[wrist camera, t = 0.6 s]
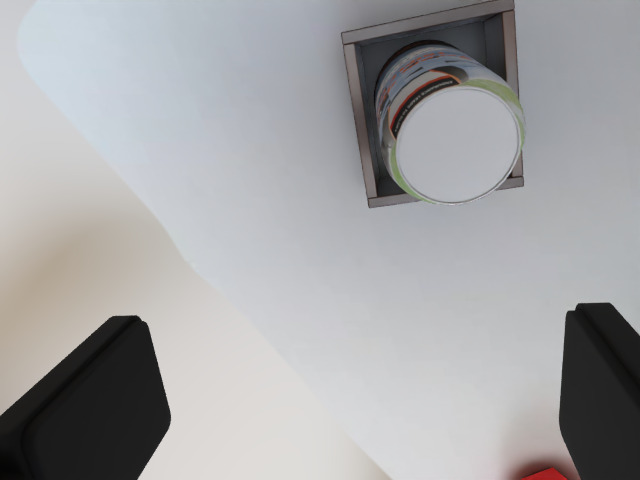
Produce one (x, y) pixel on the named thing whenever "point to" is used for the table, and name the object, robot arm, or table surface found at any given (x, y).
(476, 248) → the table surface
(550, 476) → the apple
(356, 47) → the can holder
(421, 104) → the beverage can
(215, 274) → the table surface
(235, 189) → the table surface
